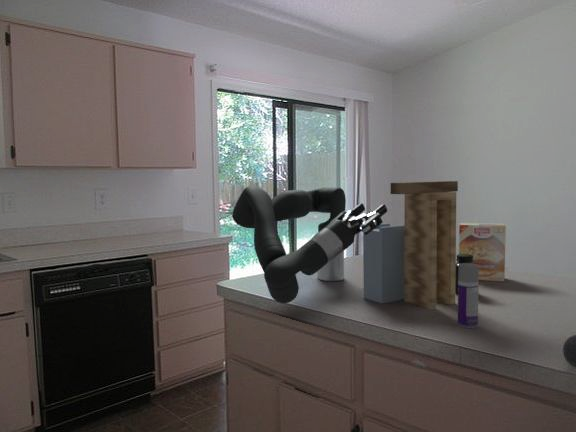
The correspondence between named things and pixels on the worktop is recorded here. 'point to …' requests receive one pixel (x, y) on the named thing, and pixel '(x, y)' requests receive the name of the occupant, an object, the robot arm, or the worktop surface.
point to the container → (468, 295)
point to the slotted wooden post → (430, 248)
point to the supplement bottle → (460, 259)
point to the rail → (424, 187)
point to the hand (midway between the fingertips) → (374, 206)
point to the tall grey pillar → (384, 263)
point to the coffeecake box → (484, 248)
